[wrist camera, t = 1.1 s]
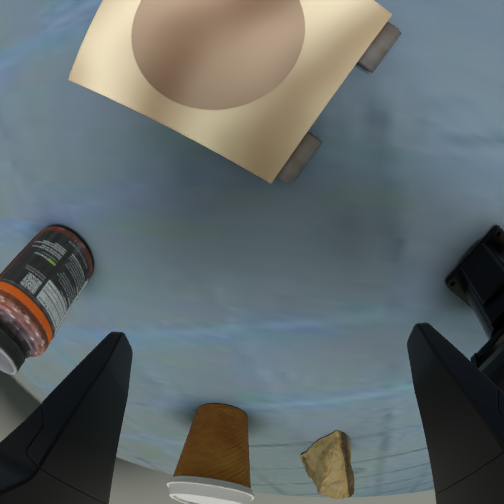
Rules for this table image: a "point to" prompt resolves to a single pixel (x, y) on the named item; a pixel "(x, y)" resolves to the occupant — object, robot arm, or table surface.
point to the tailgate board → (234, 69)
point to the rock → (331, 465)
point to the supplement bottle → (40, 293)
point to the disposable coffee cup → (214, 459)
